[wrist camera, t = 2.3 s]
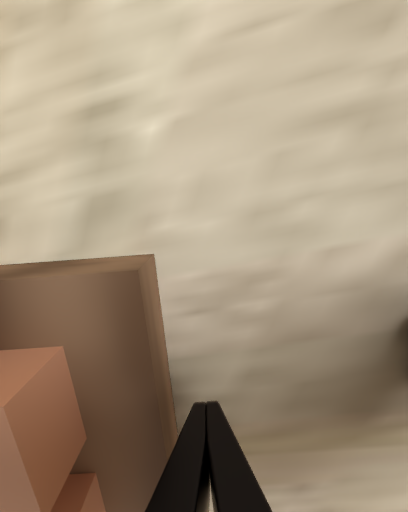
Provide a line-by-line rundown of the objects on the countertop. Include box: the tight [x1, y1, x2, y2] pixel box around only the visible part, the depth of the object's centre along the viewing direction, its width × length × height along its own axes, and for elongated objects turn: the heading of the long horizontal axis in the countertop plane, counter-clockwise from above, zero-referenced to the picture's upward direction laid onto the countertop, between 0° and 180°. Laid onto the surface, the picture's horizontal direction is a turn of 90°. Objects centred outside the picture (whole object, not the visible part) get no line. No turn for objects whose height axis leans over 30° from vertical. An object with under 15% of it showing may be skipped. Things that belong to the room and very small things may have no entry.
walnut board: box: [0, 254, 178, 512], centre depth 11 cm, size 12×16×2 cm
